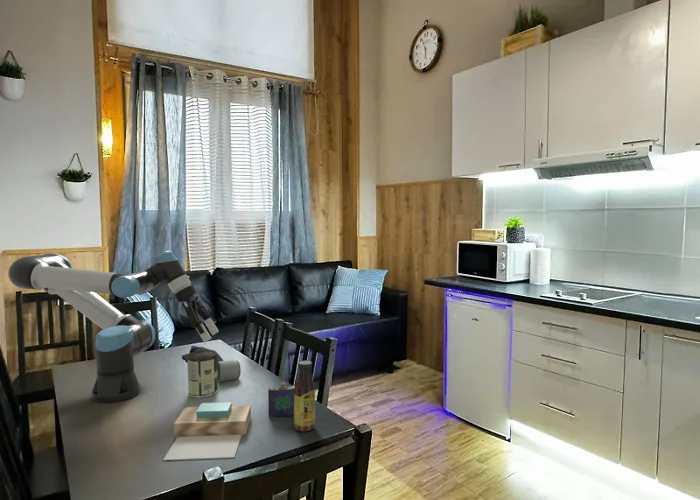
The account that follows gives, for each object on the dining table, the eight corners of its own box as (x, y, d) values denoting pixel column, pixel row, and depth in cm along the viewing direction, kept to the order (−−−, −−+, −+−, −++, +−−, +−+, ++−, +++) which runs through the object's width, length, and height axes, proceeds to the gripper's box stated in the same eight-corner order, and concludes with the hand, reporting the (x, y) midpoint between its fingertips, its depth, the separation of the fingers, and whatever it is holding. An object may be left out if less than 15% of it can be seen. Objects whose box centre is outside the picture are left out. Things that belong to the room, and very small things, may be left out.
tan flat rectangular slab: (174, 437, 126) (174, 423, 126) (185, 419, 137) (185, 407, 137) (245, 434, 128) (245, 421, 128) (250, 417, 139) (250, 405, 139)
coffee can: (202, 385, 166) (201, 348, 165) (224, 389, 162) (223, 351, 161) (181, 395, 157) (180, 356, 156) (203, 400, 152) (202, 360, 151)
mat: (163, 460, 114) (163, 459, 114) (177, 437, 126) (177, 436, 126) (234, 457, 116) (234, 456, 115) (241, 435, 127) (241, 434, 127)
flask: (297, 412, 143) (296, 379, 142) (298, 416, 140) (297, 383, 140) (268, 414, 141) (267, 382, 140) (268, 418, 138) (268, 385, 137)
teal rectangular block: (196, 418, 130) (196, 411, 129) (201, 409, 135) (201, 403, 135) (227, 417, 130) (227, 410, 130) (231, 408, 136) (231, 402, 136)
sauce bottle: (306, 434, 128) (306, 367, 127) (289, 429, 131) (289, 363, 130) (319, 426, 134) (319, 361, 132) (303, 421, 137) (302, 358, 135)
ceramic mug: (241, 381, 170) (241, 361, 170) (220, 384, 166) (219, 364, 166) (234, 373, 180) (234, 354, 179) (214, 376, 176) (213, 357, 175)
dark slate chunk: (191, 371, 183) (191, 359, 182) (180, 357, 201) (180, 346, 201) (228, 364, 191) (228, 354, 190) (214, 351, 209) (214, 342, 209)
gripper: (182, 286, 155) (213, 338, 156) (199, 281, 180) (226, 326, 181) (163, 297, 154) (194, 349, 155) (183, 291, 179) (210, 335, 180)
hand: (212, 336), depth 168 cm, fingers open, 13 cm apart
